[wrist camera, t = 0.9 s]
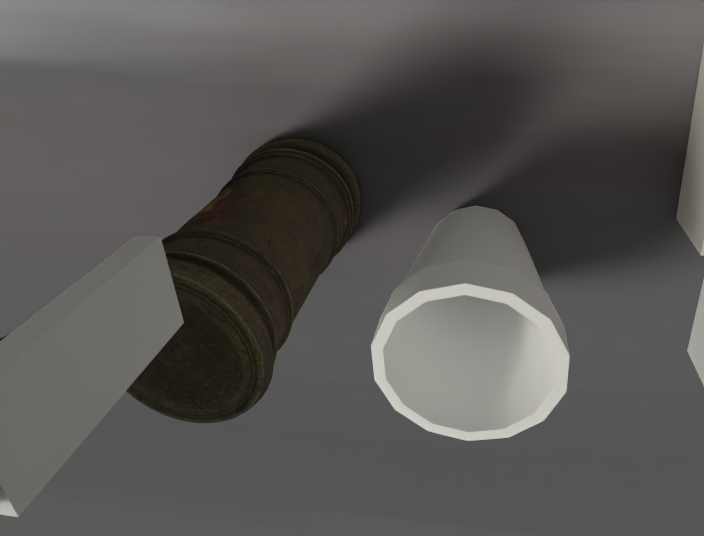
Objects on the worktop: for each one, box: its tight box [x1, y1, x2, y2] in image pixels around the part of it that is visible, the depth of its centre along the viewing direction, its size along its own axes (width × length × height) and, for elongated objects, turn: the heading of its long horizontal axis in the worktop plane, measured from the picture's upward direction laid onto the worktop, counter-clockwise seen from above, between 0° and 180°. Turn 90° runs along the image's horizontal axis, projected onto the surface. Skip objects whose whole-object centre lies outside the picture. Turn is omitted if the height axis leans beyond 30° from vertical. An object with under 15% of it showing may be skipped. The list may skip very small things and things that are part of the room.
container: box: [126, 138, 361, 423], centre depth 32 cm, size 9×9×18 cm
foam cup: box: [371, 205, 570, 441], centre depth 33 cm, size 10×9×13 cm
